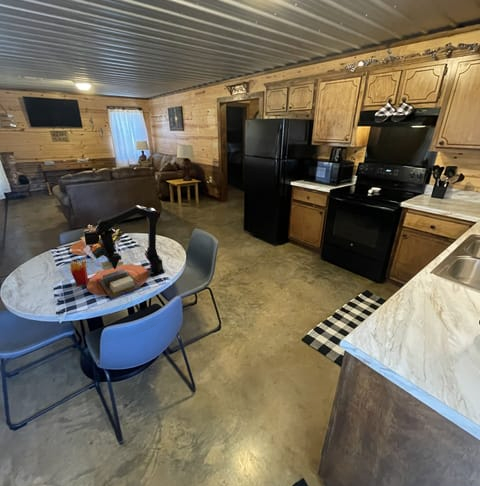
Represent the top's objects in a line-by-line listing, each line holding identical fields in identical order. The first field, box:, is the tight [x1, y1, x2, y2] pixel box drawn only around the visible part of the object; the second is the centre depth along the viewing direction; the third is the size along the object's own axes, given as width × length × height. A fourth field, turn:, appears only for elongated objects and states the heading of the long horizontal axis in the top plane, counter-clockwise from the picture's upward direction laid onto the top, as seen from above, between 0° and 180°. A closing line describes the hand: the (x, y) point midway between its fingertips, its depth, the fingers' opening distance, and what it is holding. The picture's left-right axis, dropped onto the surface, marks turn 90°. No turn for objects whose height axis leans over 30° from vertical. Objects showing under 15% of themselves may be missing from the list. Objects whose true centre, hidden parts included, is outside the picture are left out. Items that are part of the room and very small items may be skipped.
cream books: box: [110, 276, 134, 293], centre depth 143 cm, size 11×6×4 cm, turn 131°
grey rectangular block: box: [102, 268, 128, 284], centre depth 151 cm, size 12×5×4 cm, turn 131°
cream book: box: [100, 259, 124, 271], centre depth 148 cm, size 10×6×2 cm, turn 131°
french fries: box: [69, 259, 89, 287], centre depth 146 cm, size 9×8×15 cm
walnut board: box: [98, 270, 142, 300], centre depth 148 cm, size 16×22×1 cm
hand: (113, 266), depth 148 cm, fingers closed on cream book, 6 cm apart
